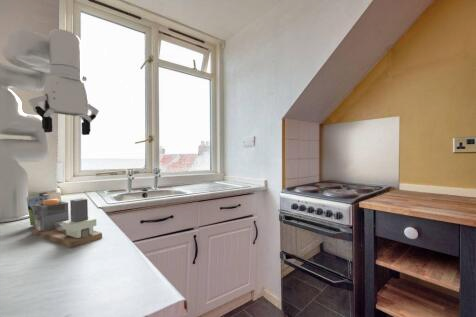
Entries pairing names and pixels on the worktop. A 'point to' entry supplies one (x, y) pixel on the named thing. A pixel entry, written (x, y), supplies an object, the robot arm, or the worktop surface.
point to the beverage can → (33, 200)
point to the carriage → (78, 219)
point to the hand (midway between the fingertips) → (68, 133)
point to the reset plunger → (50, 202)
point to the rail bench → (66, 238)
